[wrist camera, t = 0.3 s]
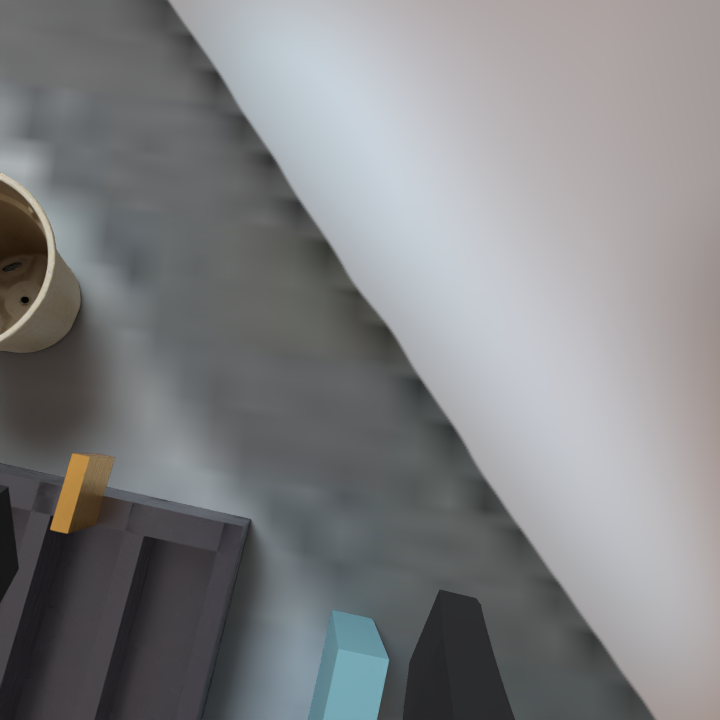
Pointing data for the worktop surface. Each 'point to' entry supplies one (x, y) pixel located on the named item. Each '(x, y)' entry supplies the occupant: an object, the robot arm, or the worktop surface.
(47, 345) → the flower pot
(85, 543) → the rack
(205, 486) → the worktop surface
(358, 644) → the block
